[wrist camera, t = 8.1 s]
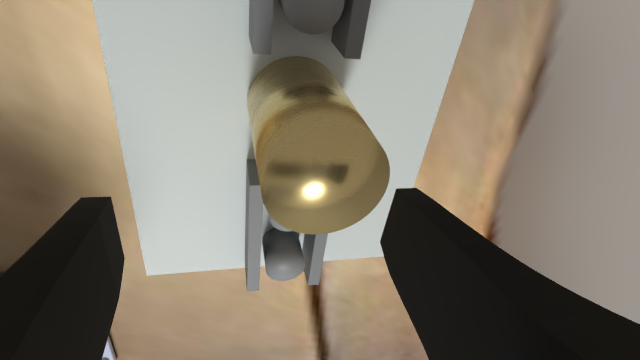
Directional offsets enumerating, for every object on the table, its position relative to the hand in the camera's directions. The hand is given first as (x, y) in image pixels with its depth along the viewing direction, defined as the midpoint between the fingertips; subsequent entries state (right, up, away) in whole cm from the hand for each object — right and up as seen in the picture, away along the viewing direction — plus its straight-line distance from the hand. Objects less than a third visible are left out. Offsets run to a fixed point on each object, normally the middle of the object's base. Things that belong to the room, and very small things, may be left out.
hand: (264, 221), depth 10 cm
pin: (0, +4, +6) cm, 8 cm away
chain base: (0, +5, +7) cm, 9 cm away
